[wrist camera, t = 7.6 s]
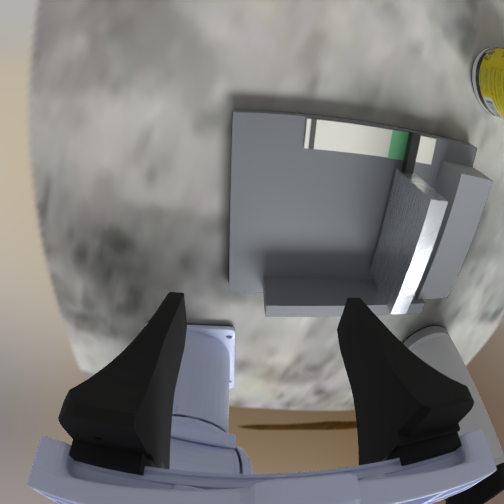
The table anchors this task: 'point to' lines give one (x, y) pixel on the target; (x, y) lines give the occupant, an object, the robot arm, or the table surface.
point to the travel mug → (451, 364)
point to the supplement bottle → (490, 80)
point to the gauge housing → (336, 209)
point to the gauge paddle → (406, 233)
